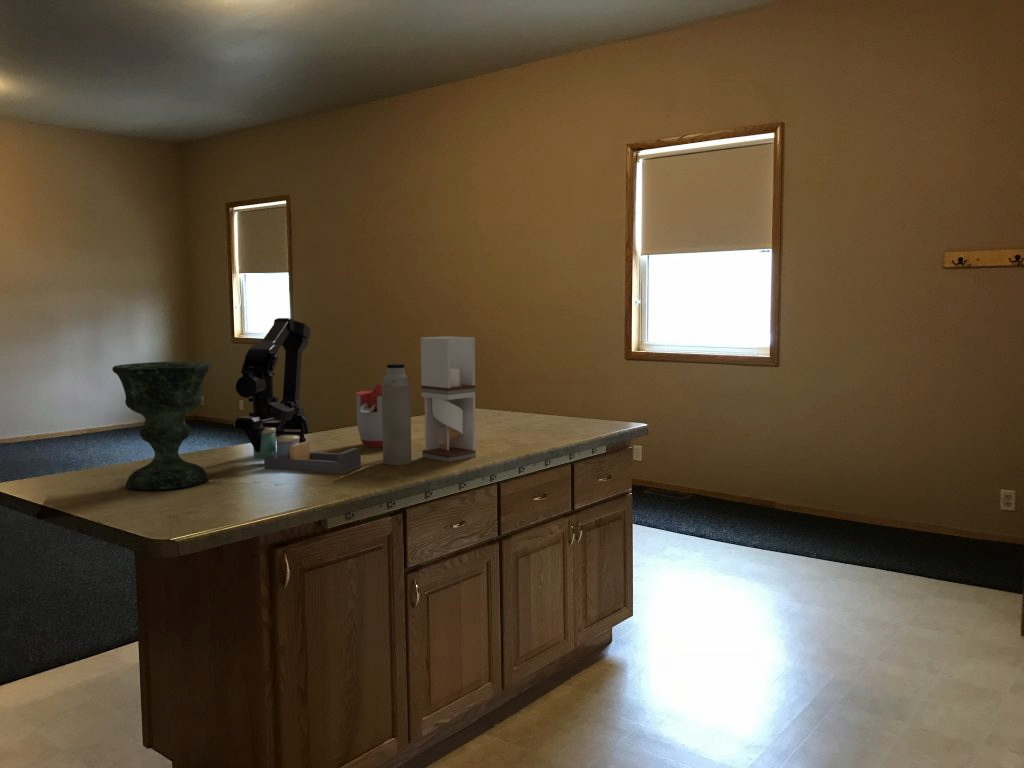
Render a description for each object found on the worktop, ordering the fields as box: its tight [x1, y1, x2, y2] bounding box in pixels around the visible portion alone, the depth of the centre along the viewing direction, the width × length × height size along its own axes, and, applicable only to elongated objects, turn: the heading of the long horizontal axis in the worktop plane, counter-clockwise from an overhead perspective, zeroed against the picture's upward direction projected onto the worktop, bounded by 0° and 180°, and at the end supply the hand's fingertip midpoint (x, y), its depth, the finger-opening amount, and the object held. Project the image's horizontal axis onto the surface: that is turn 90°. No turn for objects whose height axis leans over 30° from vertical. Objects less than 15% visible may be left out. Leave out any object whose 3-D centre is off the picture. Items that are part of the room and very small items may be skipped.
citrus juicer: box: [355, 382, 383, 448], centre depth 261 cm, size 16×17×20 cm
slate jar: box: [276, 435, 300, 458], centre depth 225 cm, size 6×6×8 cm
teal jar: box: [252, 427, 277, 460], centre depth 227 cm, size 6×6×8 cm
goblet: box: [112, 361, 212, 491], centre depth 206 cm, size 22×22×30 cm
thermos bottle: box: [382, 363, 412, 466], centre depth 232 cm, size 8×8×28 cm
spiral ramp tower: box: [420, 336, 477, 463], centre depth 240 cm, size 11×11×35 cm
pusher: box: [290, 440, 311, 460], centre depth 224 cm, size 1×8×6 cm, turn 163°
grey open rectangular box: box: [263, 447, 362, 477], centre depth 223 cm, size 23×11×6 cm, turn 73°
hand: (264, 449), depth 228 cm, fingers closed on teal jar, 6 cm apart
